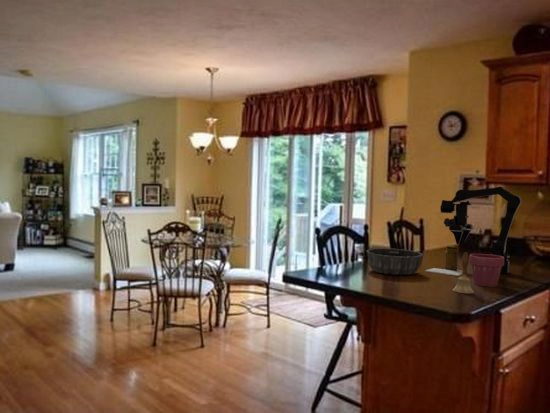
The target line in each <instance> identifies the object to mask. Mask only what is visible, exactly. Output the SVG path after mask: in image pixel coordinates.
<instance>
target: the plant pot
mask: <svg viewBox="0 0 550 413" xmlns="http://www.w3.org/2000/svg"><path fill="white" fill-rule="evenodd" d="M468 264H470V266H471V272H472V279H473V284H474V285H477V286H482V287H489V288H490V287H497V286H498V282H499V278H500V275H501V273H500V272H501V268H502V266H504V257H503V256H498V255H492V254H487V253H486V254H485V253H470V254H469V263H468Z"/></svg>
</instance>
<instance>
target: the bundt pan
mask: <svg viewBox="0 0 550 413" xmlns="http://www.w3.org/2000/svg"><path fill="white" fill-rule="evenodd" d="M366 253H367V260H368V261H367V262H368V265H369V267H370V268H371V270H372V271H373V272H374V273H379V274H385V275H392V276H397V275H398V276H407V275H414V274H416V272H417V271H418V270H419V267H420V264H421V260H422V257H423V253H421V252H420V251H419V252H418V251H415V250H411V249H410V250H409V249H399V248H385V247H384V248H371V249H370V248H369V249H367V250H366Z"/></svg>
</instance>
